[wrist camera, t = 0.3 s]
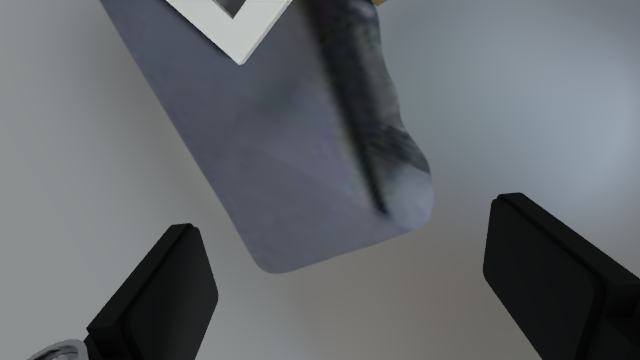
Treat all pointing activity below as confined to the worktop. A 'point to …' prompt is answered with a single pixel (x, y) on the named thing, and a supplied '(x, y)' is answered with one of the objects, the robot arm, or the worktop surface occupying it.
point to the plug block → (378, 2)
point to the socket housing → (233, 22)
